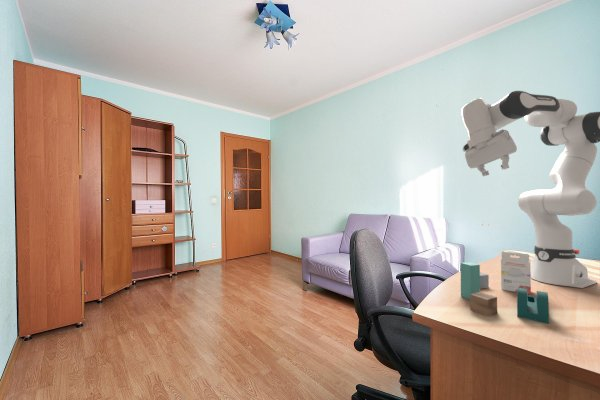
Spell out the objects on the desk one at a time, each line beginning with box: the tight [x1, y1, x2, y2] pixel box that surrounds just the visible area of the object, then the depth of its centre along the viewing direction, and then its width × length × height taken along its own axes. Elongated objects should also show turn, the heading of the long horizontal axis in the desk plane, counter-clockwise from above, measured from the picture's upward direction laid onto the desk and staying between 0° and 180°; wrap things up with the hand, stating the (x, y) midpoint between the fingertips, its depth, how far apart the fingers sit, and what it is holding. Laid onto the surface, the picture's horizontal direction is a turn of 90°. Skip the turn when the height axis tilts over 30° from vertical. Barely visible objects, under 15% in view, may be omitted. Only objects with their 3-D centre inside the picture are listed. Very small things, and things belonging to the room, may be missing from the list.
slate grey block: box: [480, 272, 490, 289], centre depth 104 cm, size 5×5×5 cm
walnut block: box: [469, 291, 498, 317], centre depth 80 cm, size 5×5×5 cm
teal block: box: [460, 261, 481, 301], centre depth 91 cm, size 4×4×12 cm
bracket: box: [516, 288, 550, 325], centre depth 81 cm, size 18×7×8 cm, turn 139°
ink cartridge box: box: [500, 251, 532, 295], centre depth 98 cm, size 9×5×15 cm, turn 47°
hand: (495, 172), depth 99 cm, fingers open, 8 cm apart
